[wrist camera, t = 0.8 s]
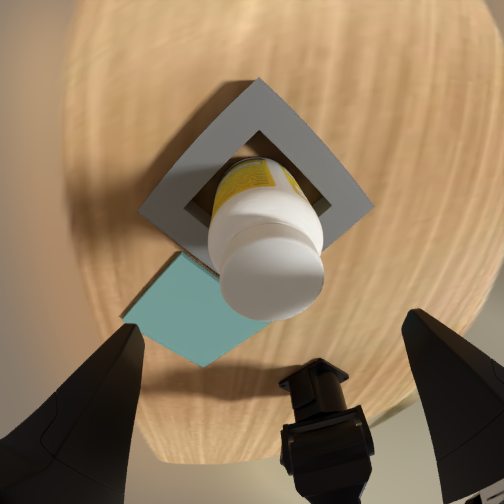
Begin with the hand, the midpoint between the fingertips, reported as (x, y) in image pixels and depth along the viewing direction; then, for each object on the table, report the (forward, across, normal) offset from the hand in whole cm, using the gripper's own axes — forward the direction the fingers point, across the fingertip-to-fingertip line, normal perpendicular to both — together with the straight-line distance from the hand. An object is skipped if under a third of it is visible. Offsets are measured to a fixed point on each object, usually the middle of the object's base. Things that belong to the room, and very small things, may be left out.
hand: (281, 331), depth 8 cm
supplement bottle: (+12, 0, 0) cm, 12 cm away
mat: (+12, +6, +11) cm, 18 cm away
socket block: (+12, 0, 0) cm, 12 cm away
